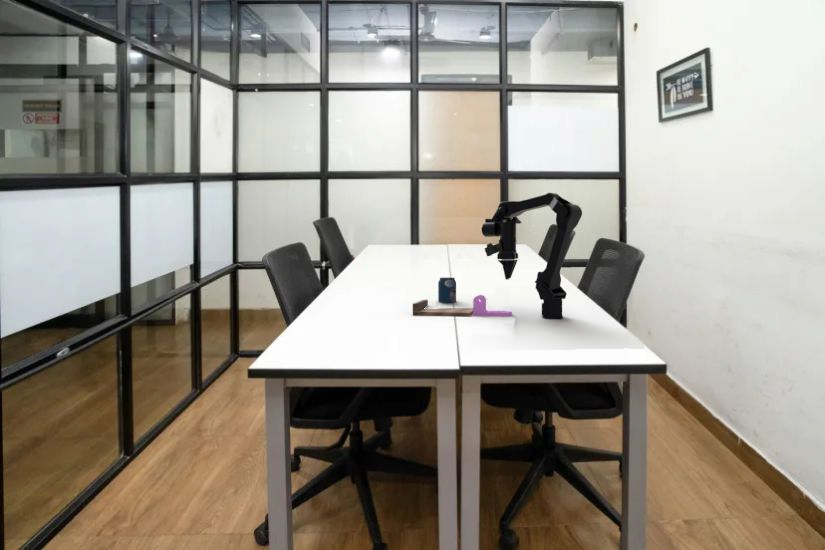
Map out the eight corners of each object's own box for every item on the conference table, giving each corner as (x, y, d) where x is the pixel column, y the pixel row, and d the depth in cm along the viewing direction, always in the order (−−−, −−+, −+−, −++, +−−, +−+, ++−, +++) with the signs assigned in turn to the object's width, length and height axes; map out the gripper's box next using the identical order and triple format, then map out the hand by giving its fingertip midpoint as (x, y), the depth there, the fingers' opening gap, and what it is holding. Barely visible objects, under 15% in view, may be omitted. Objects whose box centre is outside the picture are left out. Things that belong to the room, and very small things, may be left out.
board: (476, 311, 215) (476, 300, 215) (469, 316, 197) (469, 304, 197) (423, 310, 220) (423, 299, 220) (412, 315, 202) (412, 303, 202)
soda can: (455, 309, 222) (455, 278, 221) (437, 309, 223) (437, 278, 222) (456, 307, 229) (456, 277, 228) (439, 307, 230) (439, 277, 229)
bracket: (473, 315, 200) (473, 295, 200) (475, 314, 206) (475, 294, 206) (511, 316, 197) (511, 296, 197) (512, 315, 203) (512, 295, 202)
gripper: (488, 237, 223) (488, 277, 224) (483, 235, 205) (483, 279, 206) (518, 236, 220) (518, 277, 221) (515, 235, 202) (514, 280, 203)
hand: (508, 278), depth 213 cm, fingers open, 9 cm apart
